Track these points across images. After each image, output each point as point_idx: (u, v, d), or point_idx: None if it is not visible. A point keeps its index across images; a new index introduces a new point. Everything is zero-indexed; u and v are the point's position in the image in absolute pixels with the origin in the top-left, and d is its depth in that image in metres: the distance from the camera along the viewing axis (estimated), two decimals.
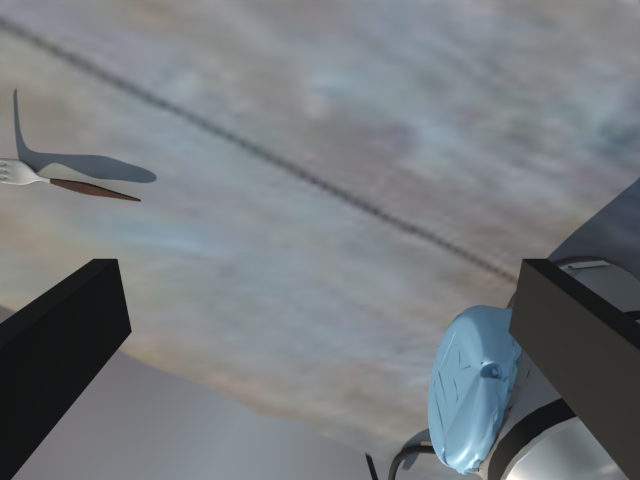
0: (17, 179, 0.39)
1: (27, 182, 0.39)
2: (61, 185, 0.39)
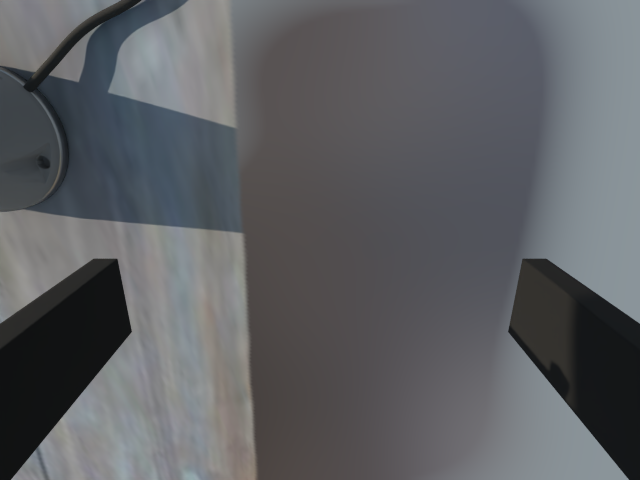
0: None
1: None
2: None
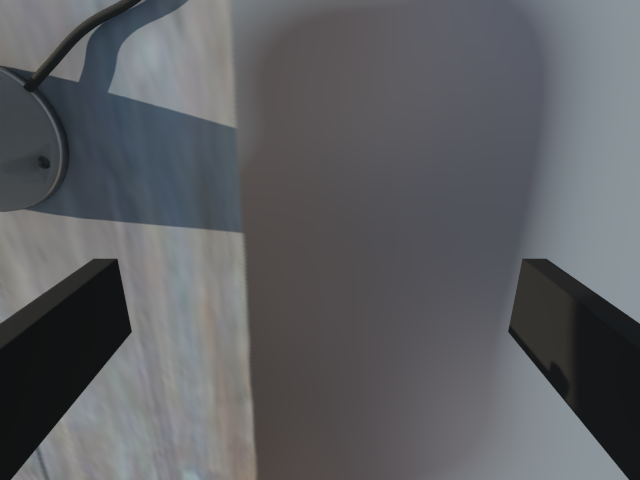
0: None
1: None
2: None
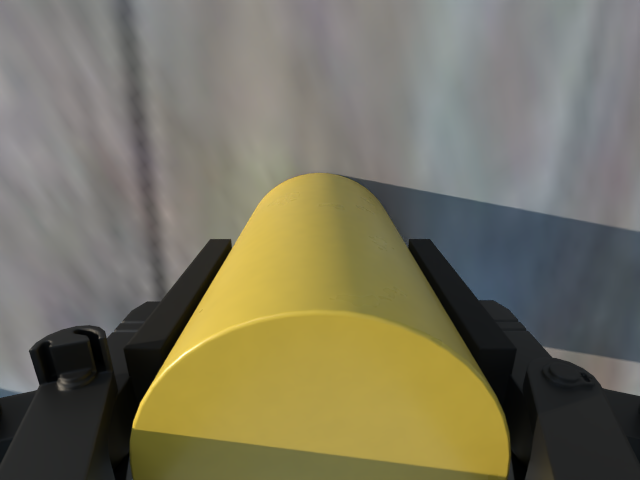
0: None
1: None
2: None
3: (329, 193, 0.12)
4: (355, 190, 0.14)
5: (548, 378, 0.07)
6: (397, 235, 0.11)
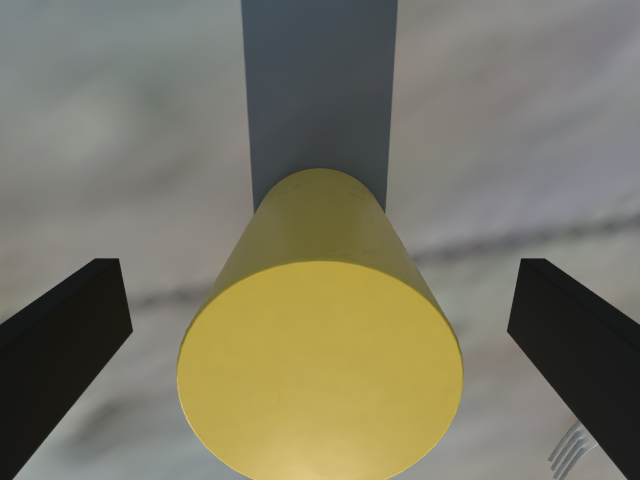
0: (594, 440, 0.23)
1: None
2: None
3: (327, 183, 0.14)
4: (350, 182, 0.16)
5: None
6: (385, 218, 0.14)
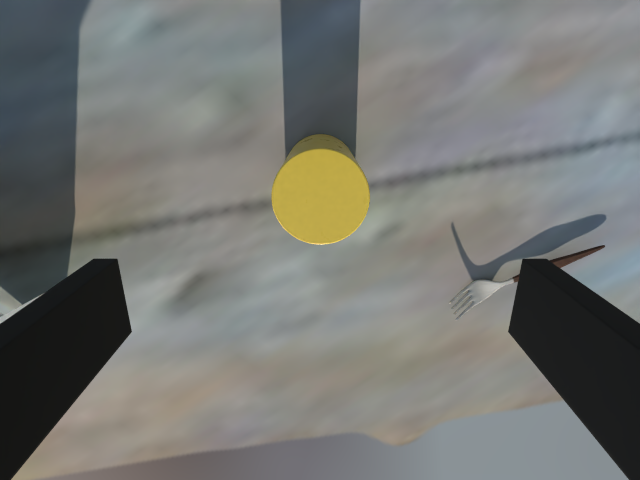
0: (480, 297, 0.39)
1: (490, 294, 0.39)
2: None
3: (324, 137, 0.31)
4: (335, 139, 0.32)
5: None
6: (350, 152, 0.30)
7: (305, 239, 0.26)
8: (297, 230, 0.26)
